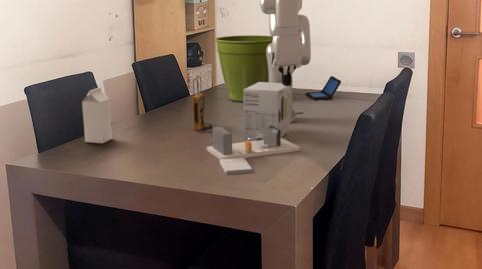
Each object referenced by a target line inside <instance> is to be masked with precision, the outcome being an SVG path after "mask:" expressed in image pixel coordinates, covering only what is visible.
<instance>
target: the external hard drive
mask: <svg viewBox="0 0 482 269" xmlns="http://www.w3.org/2000/svg"><path fill="white" fill-rule="evenodd" d="M219 163H220V166H221V167H222V169H223V171H224V173H225V174H226V175H231V174H233V175H235V174H247V173H253V172H254V170H253V168H252V166H251V165H250V164H249V162H248V161H247V160H246V158H237V159H222V160H219Z"/></svg>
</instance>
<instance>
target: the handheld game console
mask: <svg viewBox="0 0 482 269" xmlns="http://www.w3.org/2000/svg"><path fill="white" fill-rule="evenodd" d="M341 83H342V81H341V80H340V79H338V78H336V77H335V76H332V75H331V76H330V77H329V78H328V79H327V82H326V84H325V85H324V87H323V88H322V90H320V91H311V92H310V91H308V92H307V91H306V92H305V96H306V97H308V98H309V99H310V100H312V101H313V100H314V102H317V101H318V100H324V101H333V97H334V96H335V93H336V91H337V90H338V88H339V87H340V85H341Z"/></svg>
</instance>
